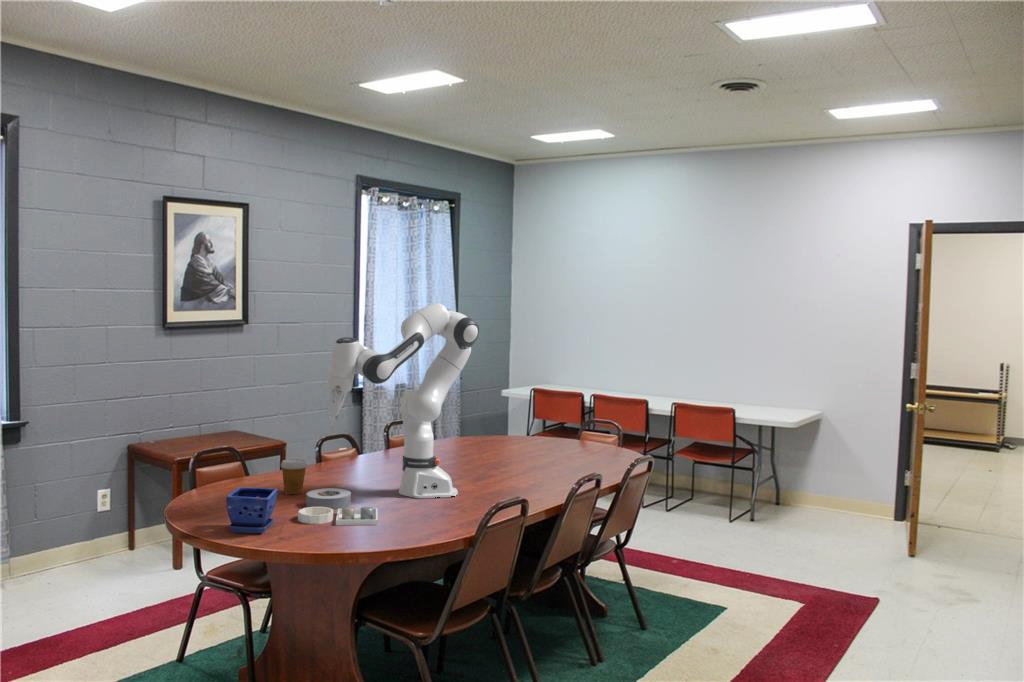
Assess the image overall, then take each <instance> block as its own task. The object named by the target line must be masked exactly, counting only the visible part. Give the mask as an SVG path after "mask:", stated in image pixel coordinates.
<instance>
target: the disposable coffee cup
mask: <svg viewBox="0 0 1024 682" xmlns="http://www.w3.org/2000/svg"><path fill="white" fill-rule="evenodd" d="M307 466H308V463H307V461H306V460H305V459H302V458H288V459H287V458H286V459H284V460H282V461H281V463H280V467H281V469H282V470H281V471H282V480H283V490H284V494H285V493H287V494H298V495H300V494H299V493H301V494H303V489H304V482H305V474H306V468H307ZM287 494H286V495H287Z"/></svg>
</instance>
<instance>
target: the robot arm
mask: <svg viewBox="0 0 1024 682" xmlns="http://www.w3.org/2000/svg"><path fill="white" fill-rule="evenodd" d="M479 332H480V327H479V324H478V322H477V321H476V320H474V318H472V317H469V316H467V315H465V314H464V313H462V312H457V311H454V310H451V309H449V308H447V307H446V306H445V305H443V304H442V303H439V302H434V303H431V304H429V305H426V306H423V307H421V308H419V309H418V310H416V311H414V312H413V313H411V314H410V315H408V316H407V317H406V318H405V319H403V321H402V322H401V325H400V333H401V337H402V340H401V342H400V343H398V344H397V345H395V346H394V347H393V348H392V349H391V350H390V351H388V352H386V353H379V352H377V351H375V350H373V349H370V348H368V347H367V346H365V345H363V344H362V343H360V342H359V340H358V339H357V338H354V337H340V338H338V339H336V340H335V342H334V343H333V347H332V350H331V355H330V361H329V362H330V367H329V370H328V373H327V378H326V385H325V387H326V388H327V389H329V391H328V392H329V393H330V395H329V399H328V404H327V410H326V413H327V415H328V417H329V418H328V419H329V421H328V426H331V427H334V426H335V423H336V420H337V419H338V418H339V414H340V410H341V409H342V408H343V405H344V403H345V401H346V398H347V395H348V394H349V393H348V392H351V391H352V389H353V384H354V379H355V375H356V374H357V375H360V376H362V377H363V378H365V379H367V380H368V381H370V382H371V383H372V384H375V385H379V384H383V383H386V382H387V381H388V380H389V379H390V378H391V377H392V375H393V374H394V373H395V372H396V370H398V368H399V367H400V366H402V365H403V364H404V363H405V362H407V361H408V360H409V359H410V358H412V356H414V355H415V354H417V352H419V350H420V349H422V348H423V345H424V344H425V343H426V342H427V341H429V340H430V339H431V338H432V337H434V336H435V335H438V336H440V337H442V338H443V339H445V343H444V346H443V348H441V350H440V351H439V352H438V354H437V355H436V356H435V358H434V359H433V361H432V362H431V364H430V365H429V366H428V368H427V370H426V371H425V373H424V377H423V379H422V382H421V384H420V386H419V389H409V390H407V391H406V392H405V393H404V394H403V395H401V399H400V407H401V413H402V425H403V432H404V433H403V434H404V435H403V436H404V440H403V441H404V444H403V446H404V447H403V455H402V460H401V461H402V462H401V464H402V465H401V469H402V476H401V480H400V481H401V482H400V484H399V485H400V486H399V490H398V494H399V495H402V496H406V497H411V498H412V499H436V498H437V497H440V498H452V497H451V496H455V497H457V496H458V495H459V491H458V489H457V488H456V487H455V486H453V482H452V478H451V476H450V475H449V473H447V472H446V471H445V470H443V469H442V468H441V467H440V466H439V465H440V464H441V461H440V459H439V458H438V457H436V456H435V455H434V438H435V437H434V436H435V435H434V432H433V427H432V423H431V422H434V421H436V420H437V419H438V418H439V417H440V414H441V411H442V406H443V404H444V402H445V400H446V397H447V395H448V392H449V390H450V389H451V387H452V385H453V384H454V382H455V381H456V380H457V378H458V376H459V375H460V374H461V372H462V370H463V369H464V367H465V366H466V365H467V362H468V360H469V357H470V355H471V352H472V346H473V345H474V343H475V342H476V341H477V339H478V336H479V334H480V333H479ZM457 494H458V495H457ZM456 495H457V496H456ZM435 497H436V498H435Z"/></svg>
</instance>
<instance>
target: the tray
mask: <svg viewBox="0 0 1024 682" xmlns="http://www.w3.org/2000/svg"><path fill="white" fill-rule="evenodd" d="M372 508H373V519H372V520H361V519H360V514H361V508H354V520H342V509H337V511H336V512H337V514H336V519H335V526H378V522H379V521H378V520H379V519H378V516H379V513H378V512H379V511H378V510H379V509H378V507H377V508H374V507H372Z"/></svg>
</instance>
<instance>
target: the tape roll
mask: <svg viewBox="0 0 1024 682" xmlns="http://www.w3.org/2000/svg"><path fill="white" fill-rule="evenodd" d="M305 503H306V504H305V505H306V508H307V507H327V508H331V509H333V511H334V510H335V511H336V510H338V509H342V508H344V507H351V505H352V492H351V491H350V490H347V489H345V488H344V489H343V488H338V487H337V488H336V487H335V488H332V487H329V488H328V487H327V488H319V489H318V488H317V489H313V490H310V491H308V492H306V496H305Z"/></svg>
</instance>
